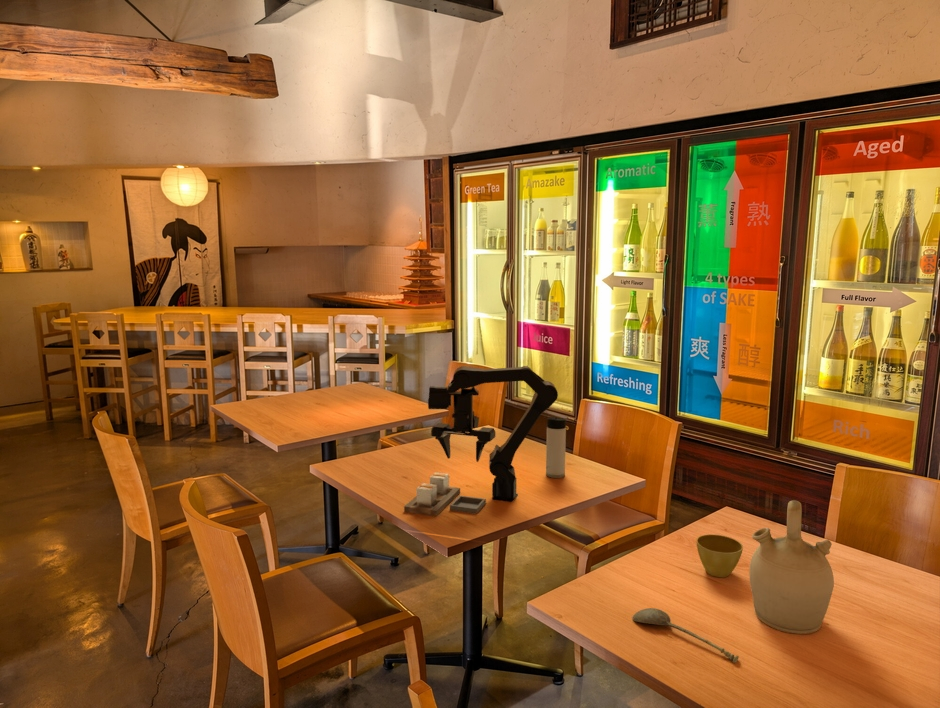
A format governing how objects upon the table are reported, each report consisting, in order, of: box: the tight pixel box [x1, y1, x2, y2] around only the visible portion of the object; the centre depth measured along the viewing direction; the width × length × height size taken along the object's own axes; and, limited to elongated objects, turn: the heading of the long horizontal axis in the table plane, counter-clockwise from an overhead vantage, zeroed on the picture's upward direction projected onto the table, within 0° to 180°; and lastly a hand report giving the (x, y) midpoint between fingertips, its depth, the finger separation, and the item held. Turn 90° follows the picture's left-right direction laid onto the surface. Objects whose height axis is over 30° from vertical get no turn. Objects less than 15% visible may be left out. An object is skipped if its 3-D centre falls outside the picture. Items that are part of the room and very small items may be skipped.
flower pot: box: [696, 534, 744, 578], centre depth 152 cm, size 10×10×7 cm
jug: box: [749, 499, 835, 635], centre depth 131 cm, size 15×16×25 cm
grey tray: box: [449, 495, 487, 515], centre depth 191 cm, size 8×8×2 cm
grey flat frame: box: [403, 486, 461, 517], centre depth 194 cm, size 10×19×2 cm, turn 160°
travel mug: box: [545, 416, 567, 479], centre depth 217 cm, size 6×7×20 cm
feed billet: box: [415, 482, 437, 508], centre depth 189 cm, size 4×4×7 cm
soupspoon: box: [631, 607, 740, 664], centre depth 127 cm, size 22×3×7 cm
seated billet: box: [429, 472, 450, 496], centre depth 199 cm, size 4×4×7 cm
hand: (463, 459), depth 197 cm, fingers open, 9 cm apart
